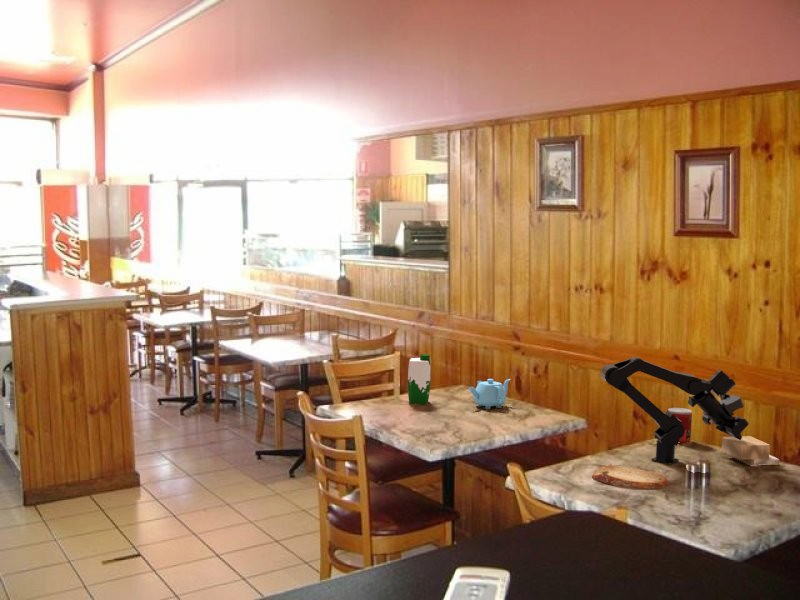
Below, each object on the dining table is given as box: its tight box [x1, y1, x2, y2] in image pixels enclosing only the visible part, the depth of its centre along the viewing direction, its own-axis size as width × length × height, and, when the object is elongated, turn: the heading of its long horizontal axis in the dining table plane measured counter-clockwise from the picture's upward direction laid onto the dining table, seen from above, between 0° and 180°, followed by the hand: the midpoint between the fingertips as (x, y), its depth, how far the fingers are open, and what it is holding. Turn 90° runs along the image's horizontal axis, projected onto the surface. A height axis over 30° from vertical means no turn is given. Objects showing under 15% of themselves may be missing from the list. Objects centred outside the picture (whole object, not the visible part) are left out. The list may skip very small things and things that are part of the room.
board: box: [727, 453, 780, 466], centre depth 279 cm, size 10×13×2 cm
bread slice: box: [591, 464, 670, 489], centre depth 254 cm, size 18×18×4 cm
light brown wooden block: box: [721, 435, 771, 460], centre depth 278 cm, size 4×11×10 cm
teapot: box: [468, 378, 511, 410], centre depth 351 cm, size 15×14×11 cm
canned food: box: [667, 407, 693, 444], centre depth 302 cm, size 8×8×11 cm
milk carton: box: [407, 353, 431, 405], centre depth 355 cm, size 9×9×20 cm
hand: (740, 438), depth 277 cm, fingers closed
